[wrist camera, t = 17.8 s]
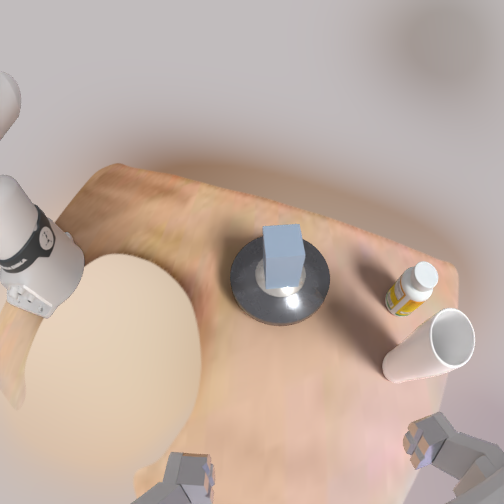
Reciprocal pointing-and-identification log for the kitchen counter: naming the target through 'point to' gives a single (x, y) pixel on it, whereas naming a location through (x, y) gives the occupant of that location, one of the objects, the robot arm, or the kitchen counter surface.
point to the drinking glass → (432, 348)
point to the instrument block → (282, 255)
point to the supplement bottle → (411, 289)
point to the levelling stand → (279, 299)
